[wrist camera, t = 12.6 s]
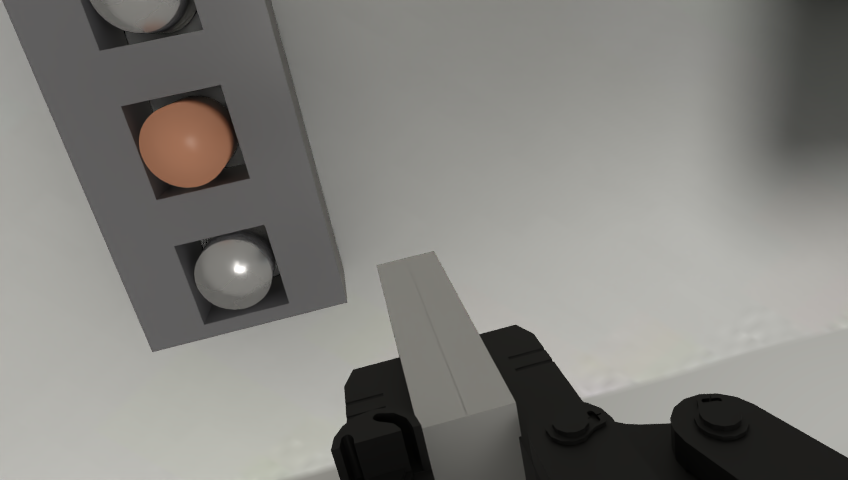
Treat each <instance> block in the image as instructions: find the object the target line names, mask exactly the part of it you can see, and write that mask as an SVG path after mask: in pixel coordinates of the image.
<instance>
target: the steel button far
mask: <svg viewBox="0 0 848 480" xmlns="http://www.w3.org/2000/svg"><path fill="white" fill-rule="evenodd" d="M275 262H276V259H275V256H274V253H273V250H272V247H271V243H270V240H269V237H268V234H267V231H266V228H265V226H264V225H261V226H257V227H253V228H249V229H244V230H240V231H236V232H232V233H228V234H223V235H219V236H215V237H211V238H210V239H209V240H208V242H207V244H206V246H205V248H204V249H203V251H202V253H201V255H200V257H199V259H198V261H197V263H196V266H195V271H194V277H195V282H196V285H197V288H198V290H199V291H200V293H201V294H202V295H203V296H204V297H205V298H206V299H207V300H208V301H209V302H211V303H212V304H214V305H216V306H218V307H221V308H225V309H233V310H237V309H244V308H248V307H250V306H253V305H255V304H256V303H258V302H259V301H260V300H262V299H263V298H264V297H265V295H266V294H267V292H268V291H269V289H270V286H271V282H272V277H273V272H274V267H275Z"/></svg>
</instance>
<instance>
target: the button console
mask: <svg viewBox="0 0 848 480" xmlns="http://www.w3.org/2000/svg"><path fill="white" fill-rule="evenodd" d="M2 1H3V3H4V5H5V8H6V10H7V12H8V15H9V17H10V19H11V22H12V24H13V26H14V29H15V31H16V33H17V36H18V38H19V40H20V43H21V45H22V47H23V50H24V52H25V54H26V57H27V59H28V61H29V64H30V66H31V69H32V71H33V73H34V76H35V78H36V80H37V83H38V85H39V87H40V90H41V92H42V94H43V97H44V99H45V101H46V104H47V106H48V108H49V111H50V113H51V115H52V118H53V120H54V122H55V125H56V127H57V129H58V132H59V134H60V136H61V139H62V141H63V144H64V146H65V148H66V151H67V153H68V155H69V158H70V160H71V162H72V165H73V167H74V169H75V172H76V174H77V176H78V179H79V181H80V183H81V186H82V188H83V190H84V193H85V195H86V197H87V200H88V202H89V204H90V207H91V209H92V211H93V214H94V216H95V219H96V221H97V223H98V226H99V228H100V230H101V233H102V235H103V237H104V240H105V242H106V244H107V247H108V249H109V251H110V254H111V256H112V258H113V261H114V263H115V265H116V268H117V270H118V272H119V275H120V277H121V279H122V282H123V284H124V286H125V289H126V291H127V294H128V296H129V298H130V301H131V303H132V305H133V308H134V310H135V312H136V315H137V317H138V319H139V322H140V324H141V326H142V329H143V331H144V333H145V336H146V338H147V340H148V343H149V345H150V347H151V350H152V352H155V351H159V350H162V349H166V348H170V347H174V346H178V345H182V344H186V343H190V342H194V341H198V340H202V339H206V338H210V337H213V336H217V335H221V334H225V333H229V332H233V331H237V330H241V329H245V328H249V327H253V326H257V325H261V324H264V323H268V322H272V321H276V320H280V319H284V318H288V317H292V316H296V315H300V314H304V313H308V312H311V311H315V310H319V309H323V308H327V307H331V306H335V305H339V304H343V303H347V294H346V285H345V275H344V270H343V266H342V262H341V259H340V255H339V251H338V247H337V244H336V240H335V236H334V233H333V229H332V225H331V222H330V218H329V214H328V211H327V207H326V203H325V199H324V196H323V192H322V188H321V185H320V181H319V177H318V174H317V170H316V166H315V162H314V159H313V155H312V151H311V148H310V144H309V140H308V137H307V133H306V129H305V125H304V122H303V118H302V114H301V111H300V107H299V103H298V100H297V96H296V92H295V89H294V85H293V81H292V77H291V74H290V70H289V66H288V63H287V59H286V55H285V52H284V48H283V44H282V40H281V37H280V33H279V29H278V26H277V22H276V18H275V15H274V11H273V7H272V3H271V0H194V2H195V5H196V9H197V12H198V15H199V18H200V21H201V24H202V28H203V30H199V31H194V32H189V33H184V34H180V35H175V36H170V37H165V38H160V39H155V40H150V41H145V42H141V43H136V44H131V45H128V42H127V39H126V37H125V34H124V31H123V30H122V29H120V28H118V27H116V26H114V25H112V24H111V23H109V22H108V21H106V20H105V19H104V18H103V17H102V16H101V15H100V14H99V13H98V12H97V11H96V9H95V8H94V7H93V5H92V3H91V2H90V0H2ZM218 85H221V88H222V91H223V94H224V97H225V101H226V104H227V107H228V110H229V113H230V116H231V120H232V123H233V126H234V129H235V132H236V136H237V139H238V142H239V145H240V148H241V151H242V155H243V158H244V161H245V164H243V165H239V166H235V167H230V168H226V169H223V170H222V171H221V172H220V173H219V175H218V176H217V177H216V178H214V179H213V180H212V181H210V182H208V183H206V184H204V185H201V186H198V187H190V188H185V187H178V186H174V185H171V184H168V183H166V182H164V181H163V180H161V179H159V178H158V177H157V176H155V175H154V174H153V173H152V172H151V171H150V169H149V168H148V167H147V165H146V164H145V162H144V160H143V158H142V156H141V152H140V148H139V136H140V131H141V128H142V126H143V124H144V122H145V121H146V119H147V118H148V117H149V116H150V115H151V114H152V113H153V111H152V108H151V106H150V103H149V100H153V99H157V98H162V97H167V96H171V95H176V94H181V93H185V92H190V91H195V90H199V89H204V88H209V87H213V86H218ZM261 225H265V228H266V231H267V234H268V237H269V240H270V243H271V247H272V250H273V253H274V256H275V259H276V262H277V266H278V269H279V272H280V276H276V277H272V282H271V286H270V289H269V291H268V292H267V294H266V295H265V297H264V298H263V299H262V300H260V301H259V302H258V303H256V304H255V305H253V306H250V307H248V308H244V309H237V310H233V309H225V308H221V307H218V306H216V305H214V304H212V303H211V302H209V301H208V300H207V299H206V298H205V297H204V296H203V295H202V294H201V293H200V291H199V290H198V288H197V285H196V282H195V277H194V271H195V266H196V263H197V261H198V259H199V257H200V255H201V253H202V251H203V249H202V246H201V243H200V241H199V240H202V239H207V238H211V237H215V236H219V235H223V234H228V233H232V232H236V231H240V230H244V229H249V228H253V227H257V226H261Z"/></svg>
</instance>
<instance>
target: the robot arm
mask: <svg viewBox="0 0 848 480" xmlns="http://www.w3.org/2000/svg"><path fill="white" fill-rule="evenodd" d="M377 268H378V272H379V276H380V281H381V285H382V289H383V293H384V297H385V301H386V305H387V309H388V313H389V317H390V321H391V325H392V329H393V333H394V337H395V341H396V345H397V349H398V353H399V358H396V359H392V360H388V361H384V362H380V363H377V364H373V365H369V366H365V367H362V368H358V369H354V370H353V371H352V373H351V375H350V377H349V379H348V381H347V382H346V384H345V386H344V389H345V403H346V417H347V423H346V424H345V425H343V426H342V428H341V429H340V430H339V432H338V433H337V434H336V436H335V437H334V440H333V444H332V448H331V452H332V455H333V458H334V461H335V464H336V467H337V470H338V474H339V477H340V480H848V458H847V457H845V456H844V455H842V454H840V453H838V452H837V451H835V450H833V449H831V448H829V447H828V446H826V445H824V444H823V443H821V442H819V441H817V440H816V439H814V438H812V437H810V436H809V435H807V434H805V433H803V432H801V431H800V430H798V429H796V428H794V427H793V426H791V425H789V424H787V423H786V422H784V421H782V420H780V419H779V418H777V417H775V416H773V415H772V414H770V413H768V412H766V411H765V410H763V409H761V408H759V407H758V406H756V405H754V404H752V403H749V402H747V401H745V400H742V399H740V398H738V397H734V396H728V395H722V394H699V395H696V396H693V397H690V398H686V399H684V400H683V401H681V402H680V403H679V404H678V405H676V406H675V407H674V409H673V412H672V415H671V418H670V419H671V424H644V425H637V424H635V425H634V424H623V423H618V422H615V421H614V420H613V418H612V417H611V416H610V415H608V414H607V413H606V412H605V411H604V410H603V409H601V408H599V407H597V406H594V405H591V404H589V403H585V402H583V401H582V400H581V398H580V397H579V396H578V394H577V393H576V391H575V390H574V389H573V387H572V386H571V385H570V383H569V382H568V380H567V379H566V378H565V376H564V375H563V374H562V372H561V371H560V369H559V368H558V367H557V365H556V364H555V363H554V362H552V359H551V357H550V356H549V354H548V353H547V352H546V350H544V348H543V346H542V345H541V343H540V342H539V341H538V339H537V338H536V337H535V335H534V334H533V333H531V332H529V331H527V330H525V329H523V328H521V327H519V326H517V325H513V326H509V327H505V328H501V329H498V330H494V331H490V332H486V333H483V334H478V332H477V330H476V328H475V326H474V324H473V322H472V321H471V319H470V317H469V315H468V313H467V311H466V310H465V308H464V306H463V304H462V302H461V300H460V298H459V297H458V295H457V293H456V291H455V289H454V287H453V286H452V284H451V282H450V280H449V278H448V276H447V274H446V273H445V271H444V269H443V267H442V265H441V263H440V262H439V260H438V258H437V256H436V254H435V252H434V251H432V252H428V253H424V254H420V255H416V256H412V257H408V258H404V259H400V260H396V261H392V262H388V263H384V264H380V265H377Z"/></svg>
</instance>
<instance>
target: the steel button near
mask: <svg viewBox="0 0 848 480" xmlns="http://www.w3.org/2000/svg"><path fill="white" fill-rule="evenodd" d="M90 2H91V3H92V5H93V7H94V8H95V9H96V11H97V12H98V13H99V14H100V15H101V16H102V17H103V18H104V19H105V20H106V21H108V22H109V23H111V24H112V25H114V26H116V27H118V28H120V29H122V30H125V31H129V32H135V33H158V34H166V33H172V32H175V31H178V30H180V29H181V28H183V27H184V26H186V25H187V24H188V23H189V22H190V21H191V19H192V18H193V16H194V14H195V12H196V5H195V2H194V0H90Z"/></svg>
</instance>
